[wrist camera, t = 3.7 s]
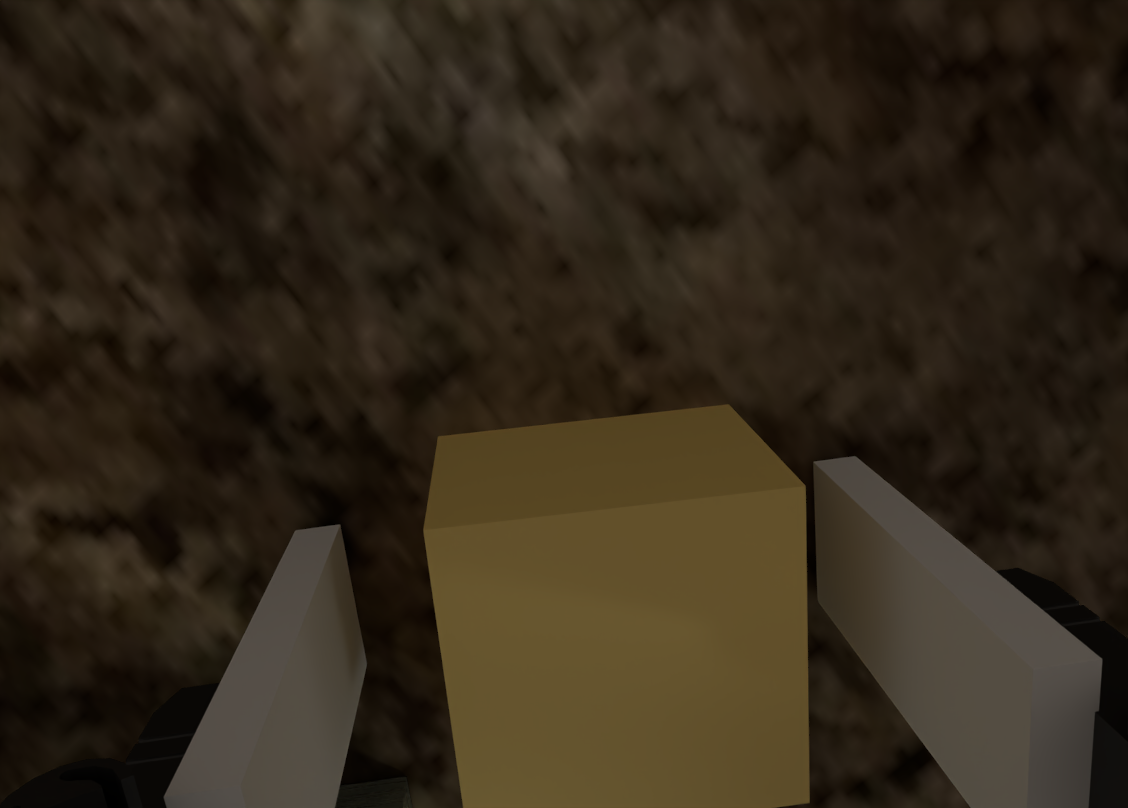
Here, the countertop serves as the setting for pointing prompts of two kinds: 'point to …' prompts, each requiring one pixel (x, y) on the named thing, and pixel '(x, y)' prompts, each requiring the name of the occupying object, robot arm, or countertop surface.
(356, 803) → the box
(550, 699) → the block
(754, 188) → the countertop surface
